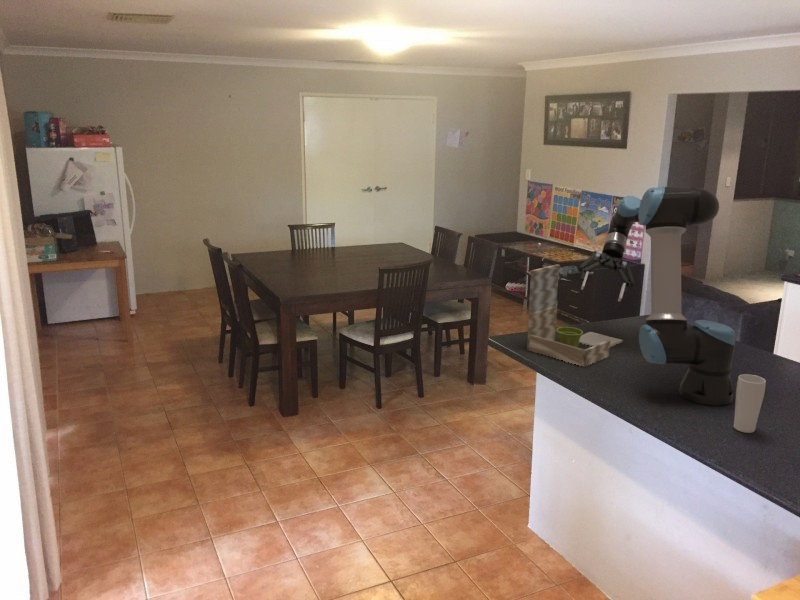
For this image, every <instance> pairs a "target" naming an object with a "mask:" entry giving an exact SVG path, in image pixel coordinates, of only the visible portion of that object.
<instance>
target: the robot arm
mask: <svg viewBox="0 0 800 600" xmlns="http://www.w3.org/2000/svg"><path fill="white" fill-rule="evenodd" d="M719 210H720V203H719V200H718V198H717V196H716V195H715V194H714V193H713V192H711V191H710V190H707V189H706V188H702V187H701V188H700V187H681V186H680V187H677V186H675V187H674V186H673V187H672V186H661V187H659V186H658V187H649V188H648V189H647V190H646V191H645V192H644V193H643V195H642V197H641V199H640V198H639V197H636V196H634V195H626V196H625V197H622V199H621V201H620V202H619V204H618V205H617V209H616V211H615V212H614V213H613V215H612V217H611V219H610V224H609V227H608V231H607V235H606V238H605V240H604V245H603V248H602V250H601V254H600V253H598V252H597V250H593V252H592V254H591V255H590V256H589V257H588V258H587V259H586V260H584V262H582V263H581V264H580V265H579V267H578V269H577V270H578V272H580V273H581V277H580V281H582V284H581V287H580V290H581V291H582V290H584V289H585V285H586V282H587V279H588V276H589V273H590V272H592V271H594V270H597V269H598V268H601V267H603V268H605V269H608V270H611V271H612V270H613V271H614V272H615V273H616V274H617V277H618V278H619V279H620V282H621V283H622V285H621V288H620V292H619V296H618V299H617V302H621V301H622V299H623V296H624V295H626V294H627V292H628V289H629V288H633V286H634V285H635V283H636V282H635V279H634V276H633V273H632V269H631V261H630V260H627V261H623V257H624V254H625V253H624V252H625V249H626V245H627V241H628V237H629V234H630V232H631V229H632V228H633V225H634V223H639V224H640V225H641V226H645V233H646V234H647V235H648V236H649V237H650V307H651V308H650V314H649V316H647V318H646V319H645V324H643V325H641V326H640V327H639V332H638V333H639V334H638V343H639V348H640V351H641V354H642V356H643V358H644V360H645V361H647V362H648V363H651V364H659V365H688V367H687V368H688V369H687V371H686V372H685V374H684V376H683V378H682V380H681V382H680V384H679V389H678V393H679V395H680V396H681V397H682V398H684V399H686V400H687V401H691V402H694V403H698V404H700V405H701V404H702V405H708V406H727V405H730V404H731V403H732V402H734V401H733V399H734V389H733V385H732V380H731V370H732V363H733V358H734V351H735V346H736V332H735V330H734V329H733V328H732V327H730V326H729V325H727V324H726V325H725V324H723V323H721V322H716V321H712V320H708V319H707V320H706V319H697V320H695V321H694V322H693V323H692V324H693V325H688V319H687V318H686V317H685V316H684V315H683V314H682V240H681V239H682V235H683V234H684V233H685V232H686V231H687V226H688V227H689V226H690V227H691V226H701V225H705V224H708V223H709V222H711V221H713V220H714V219H715V218H716V217H717V215H718V213H719ZM597 258H598V259H599V260H598V261H596V262H594V263H593V264H591V263H592V262H593V261H594V260H596V259H597ZM590 264H591V265H590ZM622 266H623V269H624V271H625V272H624V271H623V269H622Z"/></svg>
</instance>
